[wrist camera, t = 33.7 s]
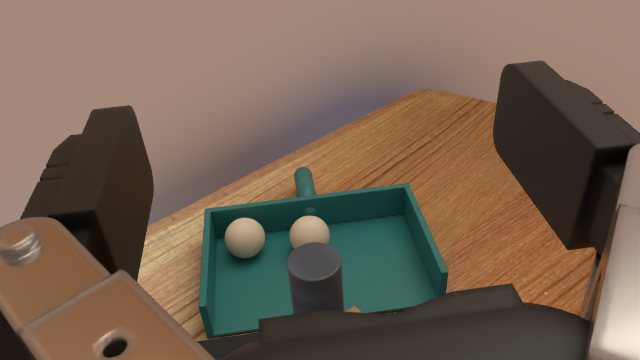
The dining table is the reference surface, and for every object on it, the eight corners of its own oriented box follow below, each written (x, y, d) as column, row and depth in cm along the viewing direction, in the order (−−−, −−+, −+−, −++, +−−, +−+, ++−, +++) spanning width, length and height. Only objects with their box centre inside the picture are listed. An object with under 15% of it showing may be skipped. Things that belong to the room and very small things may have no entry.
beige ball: (215, 220, 44) (218, 260, 44) (236, 219, 42) (240, 261, 42) (249, 216, 46) (252, 254, 46) (271, 215, 44) (274, 255, 44)
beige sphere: (288, 216, 42) (297, 208, 45) (282, 256, 42) (291, 246, 46) (329, 224, 42) (335, 216, 45) (323, 264, 42) (329, 253, 45)
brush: (288, 448, 31) (266, 323, 25) (253, 397, 34) (225, 273, 28) (395, 373, 35) (399, 247, 28) (356, 332, 37) (352, 209, 31)
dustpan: (444, 304, 40) (448, 271, 38) (207, 338, 38) (198, 306, 36) (391, 175, 53) (392, 146, 51) (213, 197, 52) (207, 168, 50)
